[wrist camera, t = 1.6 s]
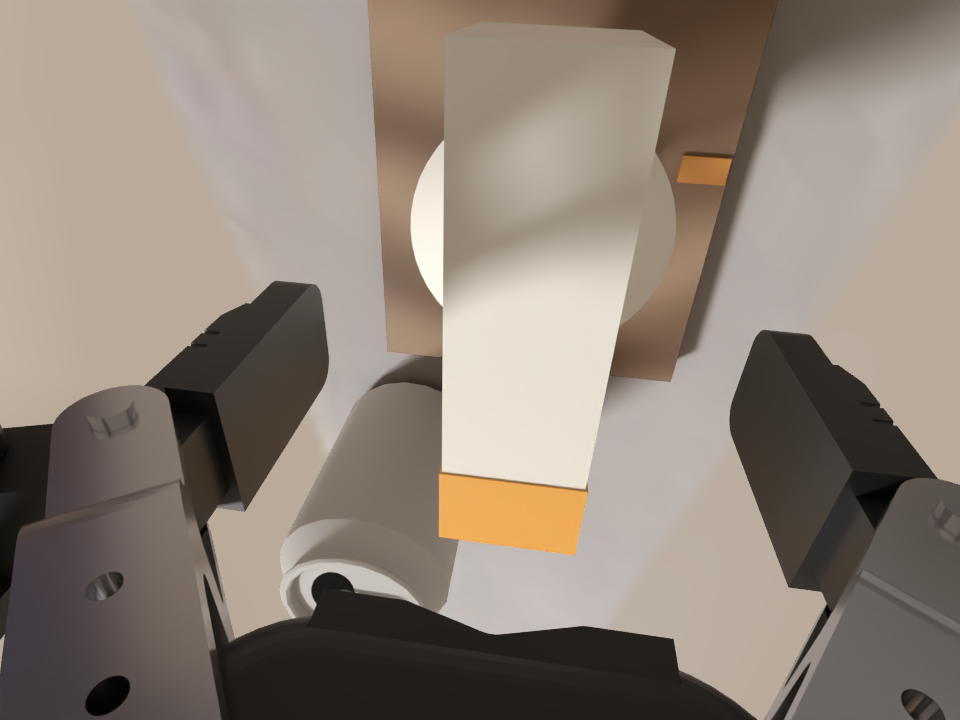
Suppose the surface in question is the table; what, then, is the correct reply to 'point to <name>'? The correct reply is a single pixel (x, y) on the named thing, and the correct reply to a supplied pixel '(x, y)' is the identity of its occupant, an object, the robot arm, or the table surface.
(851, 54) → the table surface
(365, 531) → the can
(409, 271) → the lock base
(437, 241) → the twist knob
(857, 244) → the table surface
